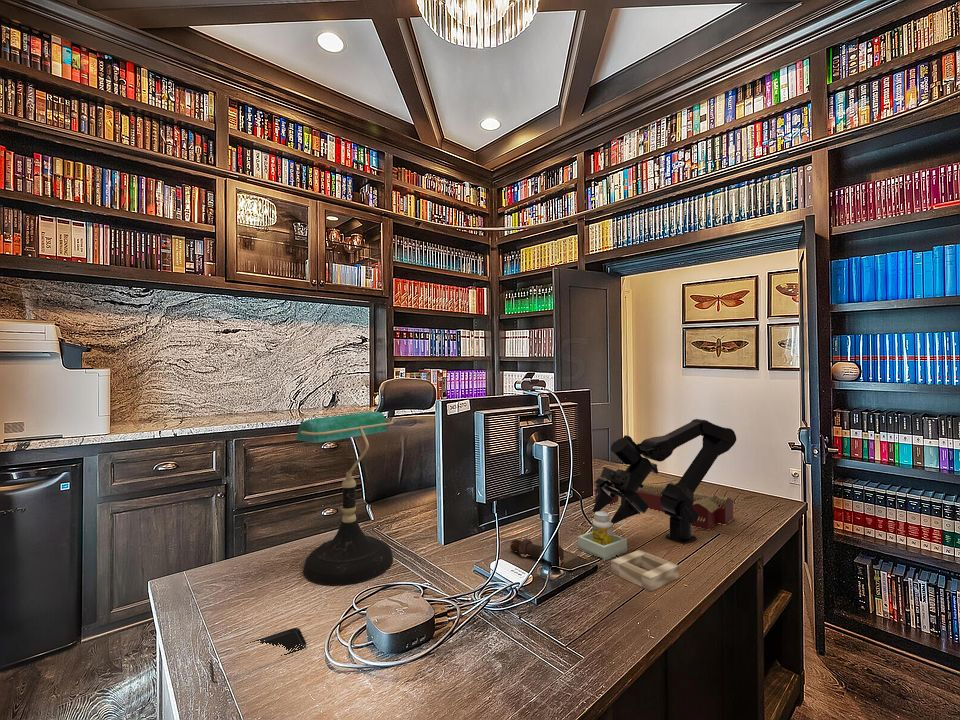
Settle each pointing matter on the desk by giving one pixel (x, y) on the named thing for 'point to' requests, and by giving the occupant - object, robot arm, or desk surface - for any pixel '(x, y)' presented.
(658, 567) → the socket block
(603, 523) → the supplement bottle
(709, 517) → the toy houses
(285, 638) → the phone
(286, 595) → the desk surface
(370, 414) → the banker's lamp
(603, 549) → the tray
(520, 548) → the brown long lumpy piece
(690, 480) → the robot arm
